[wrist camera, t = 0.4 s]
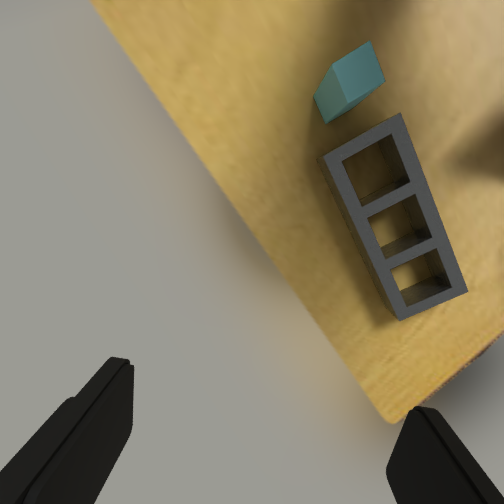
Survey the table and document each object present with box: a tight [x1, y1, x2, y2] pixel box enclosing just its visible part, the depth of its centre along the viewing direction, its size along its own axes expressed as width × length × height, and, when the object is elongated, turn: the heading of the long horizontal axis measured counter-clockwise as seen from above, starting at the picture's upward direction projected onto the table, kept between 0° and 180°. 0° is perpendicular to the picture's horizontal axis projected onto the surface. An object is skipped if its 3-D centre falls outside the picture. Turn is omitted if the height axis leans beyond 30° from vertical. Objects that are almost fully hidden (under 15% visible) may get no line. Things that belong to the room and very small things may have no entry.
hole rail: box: [316, 113, 468, 321], centre depth 33 cm, size 9×24×4 cm, turn 29°
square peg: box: [313, 41, 385, 124], centre depth 27 cm, size 4×4×9 cm
